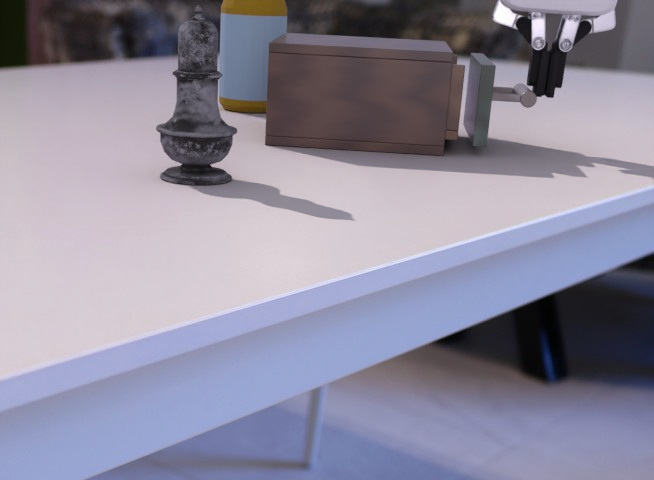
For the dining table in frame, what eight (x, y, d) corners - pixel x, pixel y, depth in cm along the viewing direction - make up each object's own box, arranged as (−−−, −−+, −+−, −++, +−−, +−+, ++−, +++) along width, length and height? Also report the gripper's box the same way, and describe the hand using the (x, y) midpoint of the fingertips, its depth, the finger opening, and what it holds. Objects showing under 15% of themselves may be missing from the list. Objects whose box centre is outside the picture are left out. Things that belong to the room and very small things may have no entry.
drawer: (518, 127, 103) (527, 55, 101) (535, 149, 91) (546, 68, 88) (328, 116, 105) (332, 45, 102) (319, 136, 92) (324, 56, 90)
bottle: (232, 113, 110) (237, -41, 105) (209, 104, 116) (212, -42, 110) (293, 112, 113) (300, -38, 107) (267, 104, 119) (273, -39, 113)
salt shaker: (230, 170, 80) (235, 4, 76) (241, 186, 75) (246, 8, 71) (153, 169, 79) (153, 1, 75) (158, 185, 74) (158, 4, 70)
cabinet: (436, 131, 105) (445, 41, 102) (443, 155, 91) (453, 52, 88) (281, 122, 106) (285, 32, 103) (265, 144, 92) (268, 42, 89)
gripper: (654, -119, 92) (617, 96, 99) (482, -128, 93) (457, 85, 100) (675, -126, 85) (634, 106, 92) (489, -136, 86) (462, 94, 93)
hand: (542, 95), depth 96 cm, fingers closed
